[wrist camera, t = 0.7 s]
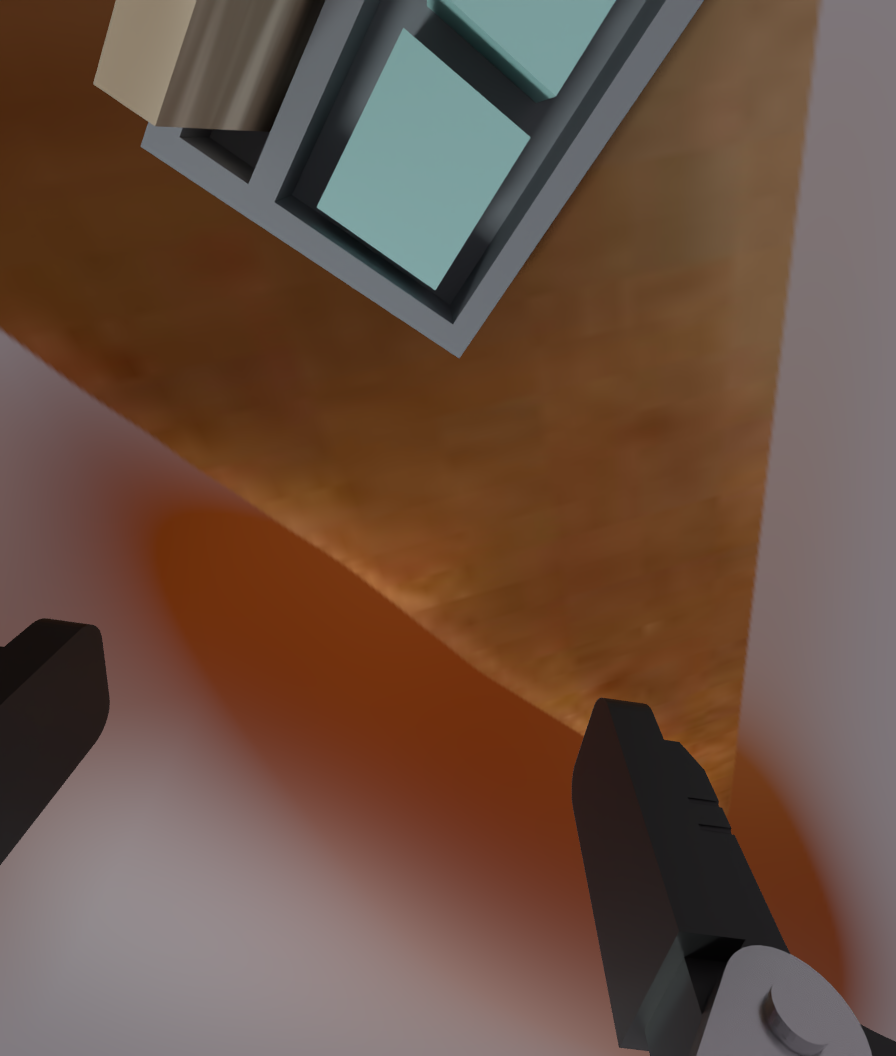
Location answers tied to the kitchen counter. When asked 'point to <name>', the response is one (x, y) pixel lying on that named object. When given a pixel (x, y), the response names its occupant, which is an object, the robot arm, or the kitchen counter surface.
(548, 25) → the offcut
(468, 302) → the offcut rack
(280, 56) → the birch sheet
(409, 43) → the offcut
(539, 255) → the kitchen counter surface
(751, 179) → the kitchen counter surface
